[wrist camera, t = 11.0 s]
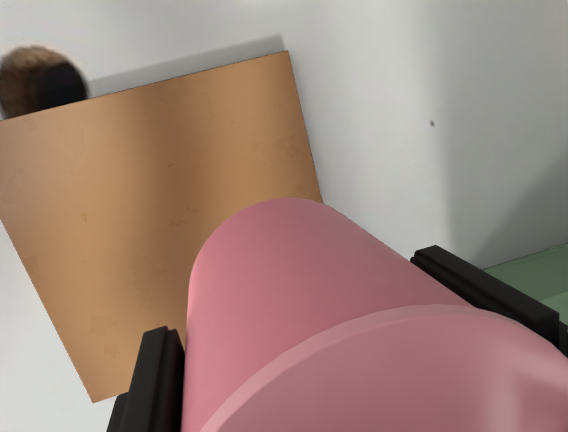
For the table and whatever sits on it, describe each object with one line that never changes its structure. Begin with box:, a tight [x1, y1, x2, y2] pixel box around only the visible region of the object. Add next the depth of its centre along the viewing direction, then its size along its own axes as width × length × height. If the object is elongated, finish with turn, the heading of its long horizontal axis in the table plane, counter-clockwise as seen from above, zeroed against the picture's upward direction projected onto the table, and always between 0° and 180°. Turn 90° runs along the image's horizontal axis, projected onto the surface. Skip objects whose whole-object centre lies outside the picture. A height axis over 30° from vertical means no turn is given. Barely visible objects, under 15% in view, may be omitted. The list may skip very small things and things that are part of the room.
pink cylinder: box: [180, 198, 568, 432], centre depth 9 cm, size 7×7×8 cm
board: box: [0, 50, 323, 403], centre depth 21 cm, size 16×16×1 cm
